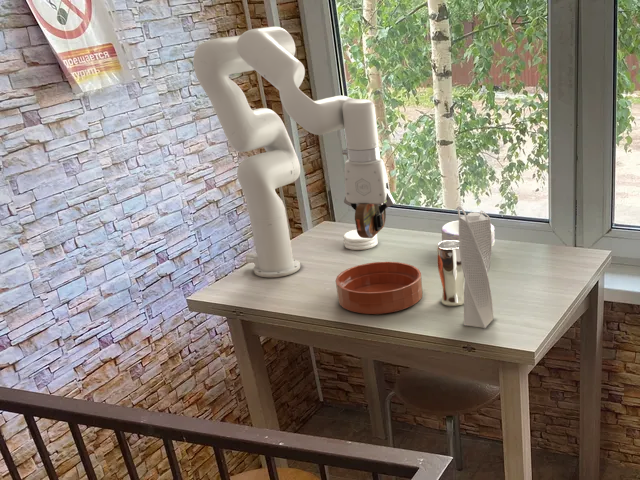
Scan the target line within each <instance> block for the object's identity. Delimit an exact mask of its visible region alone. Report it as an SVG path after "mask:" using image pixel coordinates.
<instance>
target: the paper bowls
mask: <svg viewBox="0 0 640 480" xmlns="http://www.w3.org/2000/svg"><path fill="white" fill-rule="evenodd" d="M440 231H441V242H443V241H448V240H456V241H459V219H458V220H453V221H449V222H447V223H445V224H443V225H442V227H441V230H440ZM491 235H492V247H494V245H495V239H496V238H495V226H494V225H493V224H492V223H491Z"/></svg>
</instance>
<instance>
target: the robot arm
mask: <svg viewBox="0 0 640 480" xmlns="http://www.w3.org/2000/svg"><path fill="white" fill-rule="evenodd" d="M295 54H296V43H295V40H294V38H293V36H292V35H291V33H289V31H287V30H286V29H284V28H283V27H281V26H273V25H272V26H265V27H257V28H252V29H248V30H245V31H244V32H243V33H242V34H240V35H233V36H224V37H218V38H212V39H208V40H206V41H204V42H202V43H200V44H199V45H198V46H197V47H196V49H195V51H194V54H193V61H192V62H193V70H194V73H195V76H196V79H197V81H198V83H199V84H200V86H201V88H202V89H203V92H204V93H205V94H206V96H207V97H208V99H209V101H210V103H211V105H212V108H213V109H214V112H215V114H216V116H217V119H218V121H219V123H220V125H221V128H222V131H223V132H224V134H225V135H224V136H225V137H226V139H227V142H228V143H229V145H230V146H231V148H232V149H233V150H234V151H236V152H240V153H246V152H251V151H256V150H258V149H262V148H263V149H264V151H265V152H260V153H257V154H254V155H251V156H248V157H246V158H244V159H243V160H242V161H240V163H239V164H238V167H237V171H236V175H237V181H238V183H239V185H240V187H241V190H242V193H243V195H244V198H245V203H246V207H247V211H248V217H249V220H250V227H251V231H252V237H253V242H254V248H255V253H251V252H249V253H246V254H245V263H248V264H254V267H253V273H254V274H255V275H256V276H258V277H261V278H280V277H281V278H282V277H285V276H289V275H293V274H294V273H296V272H298V271H299V270H300V269H301V263H300V261H299V260H297V259H295V258H294V255H293V248H292V247H293V246H292V241H291V236H290V229H289V224H288V218H287V211H286V208H285V204H284V202H283V199H281V197H280V196H279V194H278V193H277V192H276V189H279V188H282V187H284V186H287V185H290V184H293V183H294V182H295V181H297V180H298V179H299V178H300V175H301V164H300V160H299V158H298V154H297V153H296V150H295V147H294V145H293V142H292V140H291V138H290V135H289V133H288V131H287V128H286V126H285V123H284V122H283V120H282V118H281V117H280V116H279V114H277V113H276V111H275V110H272V109H270V108H267V107H261V108H260V107H259V108H255V109H252V107H251V106H250V104H249V101H248V99H247V97H246V95H245V92H244V91H243V90H242V89H241V87H240V86H239V85H238V84H237V83H236V82H235V81H234V80H232V79H231V78H230V75H234V74H241V73H247V72H253V71H255V72H256V73H258V74H259V75H260V76H261V77H263V79H265V80H266V81H267V82H269V83H270V85H272V86H273V87H274V88H276V90H278V91H279V99H280V102H281V104H282V107H283V109H284V111H285V112H286V114H287V115H288V117H290V118H291V119H292V120H293V121H294V122H295V123H297V125H299V126H300V127H301V128H302V129H304V130H305V131H306V132H309V133H310V134H313V135H316V136H324V135H326V134H330V133H333V132H336V131H337V132H338V131H341V130H344V135H345V142H346V148H343V149H342V150H341V153H342V155H343V156H346V157H347V158H346V160H345V161H344V194H345V196H344V199H343V203H344V204H345V205H348V206H349V207H351V208H352V209H353V210H354V212H355V211H356V208H357V206H358V205H359V204H368V203H369V204H374V209H375V215H374V226H375V231H379V230H380V229H381V228H382V226H383V218H382V212H383V211H384V210H386V209H388V208H390V207H391V206H394V205H395V203H396V201H395V199H394V198H393V196H392V194H391V188H390V183H389V182H390V181H389V177H388V172H387V169H386V164H385V162H384V159H383V158H381V153H380V142H379V141H380V140H379V134H378V133H379V132H378V125H377V124H378V122H377V112H376V106H375V103H374V102H373V101H372V100H370V99H366V98H354V97H350V96H347V95H334V96H330V97H325V98H324V97H323V98H320V99H317V100H314V99H312V98H310V97H309V96H308V95H307V94H305V93H304V92H303V91H302V90H301V89H300V87H301V85H302V83H303V80H305V76H306V69H305V66H304V64H303V63H302V62H301V60H299V59H298V58H297V57H296V56H295ZM382 203H384V204H382ZM382 229H383V228H382ZM382 229H381V230H382ZM381 230H380V231H381ZM380 231H379V232H380Z"/></svg>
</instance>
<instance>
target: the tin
mask: <svg viewBox="0 0 640 480" xmlns="http://www.w3.org/2000/svg"><path fill="white" fill-rule="evenodd" d="M384 203H385V202H384ZM384 203H382V204H384ZM386 212H387V211H386V209H385V210H384V211H383V212H382V218H383V226H382V228H381V229H380V230H379V231H375V226H374V215H375V209H374V204H369V203H368V204H359V205H358V206H357V208H356V211H355V210H354V222H355V229H356V230H357V233H358V235H359V236H360V237H362V238H373V237H374V236H375V235H376V234H377V235H378V233H379V232H380V231H381V230H382V229H383V228H384V226H385V224H386V220H387V219H386V218H387V217H386V216H387V215H386Z"/></svg>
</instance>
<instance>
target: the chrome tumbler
mask: <svg viewBox="0 0 640 480" xmlns="http://www.w3.org/2000/svg"><path fill="white" fill-rule="evenodd" d="M436 263H437V264H436V265H437V271H438V275H439V278H440V283H441V287H442V288H441V289H442V292H441V293H442V294H441V304H442V305H444V306H446V307H459V306H462V305H464V285H465V277H464V274H463V269H462V264H461V258H460V249H459V241H456V240H448V241H443V242H442V241H440V242H438V243H436Z"/></svg>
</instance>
